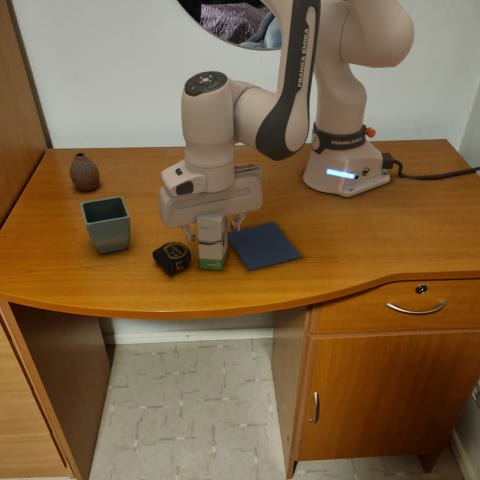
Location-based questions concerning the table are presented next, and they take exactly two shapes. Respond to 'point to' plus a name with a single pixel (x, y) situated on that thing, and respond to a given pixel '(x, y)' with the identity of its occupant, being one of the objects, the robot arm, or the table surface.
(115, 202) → the flower pot
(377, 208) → the table surface
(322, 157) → the robot arm
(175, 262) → the tape measure
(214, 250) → the ink box
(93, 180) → the vase
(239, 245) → the cloth
